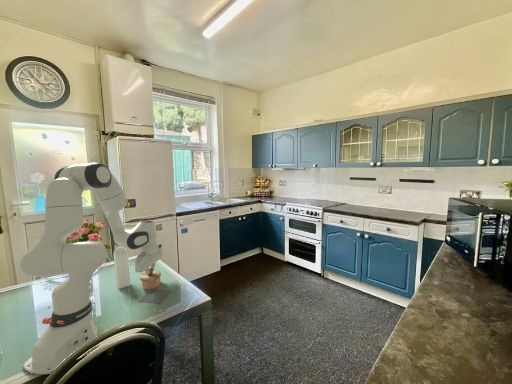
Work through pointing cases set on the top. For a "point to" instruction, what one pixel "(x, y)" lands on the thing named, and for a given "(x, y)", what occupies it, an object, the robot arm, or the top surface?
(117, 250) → the milk
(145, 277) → the lid
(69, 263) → the robot arm
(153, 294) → the mat
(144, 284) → the bowl
